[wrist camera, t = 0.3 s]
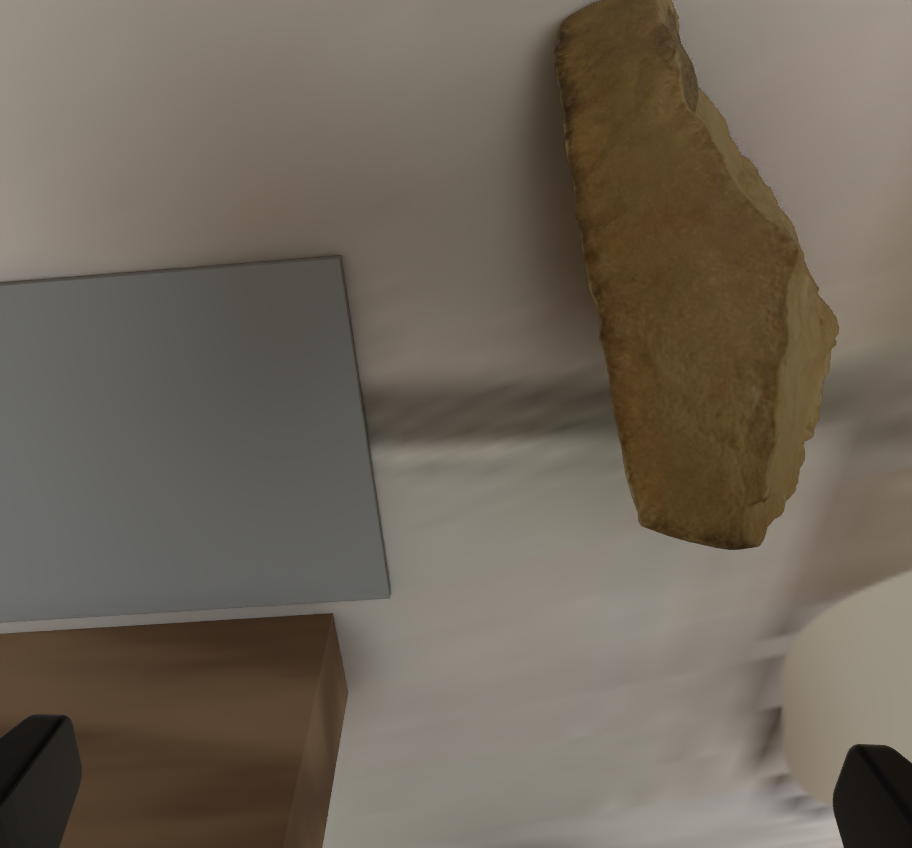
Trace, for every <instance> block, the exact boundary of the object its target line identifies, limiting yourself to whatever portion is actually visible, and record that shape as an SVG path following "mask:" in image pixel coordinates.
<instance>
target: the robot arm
mask: <svg viewBox="0 0 912 848" xmlns="http://www.w3.org/2000/svg"><path fill="white" fill-rule="evenodd" d="M81 779H82V762H81V758H80V753H79V749H78V744H77V740H76V735H75V731H74V726H73V723H72V720H71V719H70V718H69V717H68V716H66V715H59V714H33V715H31V716H28V717H27V718H25V719H24V720H22V721H21V722H20V723H18V724H17V725H16V726H14V727H13V728H12V729H10V730H9V731H8V732H6V733H5V734H4V735H2V736H1V737H0V848H59V847H60V844H61V841H62V838H63V835H64V832H65V829H66V826H67V823H68V820H69V817H70V814H71V811H72V808H73V805H74V802H75V799H76V796H77V793H78V790H79V787H80V783H81ZM833 810H834V815H835V818H836V822H837V825H838V829H839V832H840V836H841V839H842V843H843V846H844V848H912V763H911V762H910V761H908V760H907V759H906V758H905V757H903V756H902V755H901V754H900V753H899V752H897V751H896V750H894V749H893V748H891V747H889V746H885V745H868V744H857V745H854V746H853V747H851V748H850V749H849V751H848V753H847V755H846V758H845V761H844V764H843V767H842V769H841V772H840V775H839V778H838V781H837V783H836V786H835V789H834V793H833Z"/></svg>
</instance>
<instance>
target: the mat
mask: <svg viewBox="0 0 912 848" xmlns="http://www.w3.org/2000/svg"><path fill="white" fill-rule="evenodd" d="M390 594H391V591H390V584H389V578H388V571H387V564H386V557H385V551H384V544H383V537H382V530H381V524H380V517H379V510H378V503H377V497H376V490H375V483H374V476H373V470H372V463H371V456H370V449H369V443H368V436H367V429H366V423H365V416H364V409H363V402H362V396H361V389H360V382H359V375H358V369H357V362H356V355H355V348H354V342H353V335H352V328H351V321H350V315H349V308H348V301H347V294H346V288H345V281H344V274H343V267H342V261H341V256H329V257H317V258H304V259H292V260H279V261H267V262H254V263H242V264H229V265H217V266H204V267H192V268H179V269H167V270H154V271H142V272H129V273H117V274H104V275H92V276H79V277H67V278H54V279H42V280H29V281H17V282H4V283H0V623H1V622H17V621H33V620H49V619H65V618H81V617H97V616H113V615H130V614H146V613H162V612H178V611H194V610H210V609H226V608H242V607H258V606H274V605H290V604H306V603H322V602H338V601H354V600H370V599H386V598H390Z"/></svg>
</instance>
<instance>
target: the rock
mask: <svg viewBox="0 0 912 848" xmlns="http://www.w3.org/2000/svg"><path fill="white" fill-rule="evenodd" d="M678 18H679V17H678V15H677V13H676V11H675V9H674V6H673V3H672V0H602V1H600V2H597V3H594V4H591V5H589V6H587V7H585V8H584V9H582V10H580V11H578V12H576V13H574V14H572V15H571V16H569V17H568V18H567V19H566V20H565V21H563V22H562V23H561V28H560V30H559V32H558V34H557V41H558V43H559V45H558V47H557V48H556V49H555V51H554V54H555V68H556V75H557V82H558V86H559V90H560V102H561V106H562V109H563V112H564V120H563V128H564V135H565V145H566V153H567V160H568V164H569V168H570V172H571V176H572V181H573V186H574V192H575V202H574V205H575V215H576V220H577V225H578V228H579V232H580V235H581V246H582V252H583V257H584V262H585V268H586V273H587V278H588V285H589V290H590V293H591V295H592V298H593V300H594V302H595V305H596V308H597V311H598V314H599V318H600V321H601V324H600V338H599V339H600V342H601V345H602V348H603V351H604V354H605V359H606V365H607V370H608V374H609V384H610V396H611V402H612V407H613V412H614V417H615V421H616V424H617V428H618V435H619V439H620V443H621V447H622V454H623V461H624V468H625V474H626V478H627V481H628V485H629V488H630V492H631V495H632V498H633V501H634V504H635V506H636V509H637V511H638V521H639V523H640V525H641V526H643V527H645V528H648V529H651V530H654V531H656V532H659V533H662V534H665V535H667V536H671V537H674V538H678V539H681V540H685V541H688V542H693V543H697V544H702V545H706V546H710V547H715V548H721V549H728V550H738V549H746V548H753V547H758V546H760V545H761V543H762V542H763V540H764V538H765V534H766V531H767V527H768V526H769V525H770V524H771V522H772V521H773V520H774V519H775V518H777V517H779V516H781V514H782V513H783V511H784V507H785V502H786V500H788V499H789V498H790V497H791V496H792V494H793V493H794V492H795V490H796V485H797V483H798V477H799V470H800V467H801V466H802V464H803V462H804V460H805V449H804V442H805V441H807V440H809V439H811V438H812V437H813V434H814V428H815V426H816V423H817V422H818V420H819V416H820V405H821V401H822V395H823V386H822V383H823V380H824V379H825V377H826V375H827V373H828V371H829V366H830V358H831V349H832V348H833V347H834V346H836V340H835V338H836V336H837V335H838V331H839V326H838V324H837V318H836V316H835V315H834V313H833V312H832V310H831V309H830V307H829V306H828V305H827V304H826V303H825V302H824V301H823V299H822V298H821V297H820V296H819V295H818V290H819V288H818V286H817V285H816V283H815V281H814V280H813V278H812V276H811V274H810V272H809V270H808V268H807V266H806V264H805V262H804V253H803V251H802V249H801V247H800V245H799V243H798V238H797V235H796V231H795V228H794V226H793V224H792V222H791V221H790V219H789V218H788V216H787V215H786V214H785V213H784V212H783V211H782V209H781V208H780V207H779V206H778V205H777V204H778V202H777V200H776V198H775V196H774V194H773V192H772V190H771V188H769V187H768V186H766V185H765V184H764V182H763V180H762V179H761V177H760V176H759V173H758V170H757V169H756V167H755V166H754V165H753V163H752V162H751V160H750V159H747V158H745V157H743V156H741V155H740V152H739V150H738V148H737V146H736V144H735V143H734V141H733V140H732V138H731V137H730V135H729V131H728V127H727V123H726V121H725V119H724V118H723V116H722V115H721V114H720V112H719V111H718V110H717V108H716V107H715V106H714V104H713V103H712V102H711V100H710V99H709V98H708V96H707V95H706V94H705V93H704V92H703V91H702V90H701V89H700V88H699V87H698V83H697V78H696V74H695V71H694V68H693V64H692V62H691V60H690V58H689V57H688V55H687V53H686V51H685V49H684V48H683V46H682V44H681V41H680V37H679V33H678V31H679V22H678Z"/></svg>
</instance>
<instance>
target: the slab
mask: <svg viewBox="0 0 912 848" xmlns="http://www.w3.org/2000/svg"><path fill="white" fill-rule="evenodd" d="M347 695H348V690H347V685H346V680H345V675H344V669H343V664H342V659H341V654H340V648H339V643H338V638H337V633H336V628H335V622H334V617H333V613H330V614H314V615H298V616H282V617H265V618H249V619H233V620H217V621H200V622H184V623H168V624H152V625H136V626H119V627H103V628H87V629H71V630H55V631H38V632H22V633H6V634H0V737H1V736H2V735H4V734H5V733H6V732H8V731H9V730H10V729H12V728H13V727H14V726H16V725H17V724H18V723H20V722H21V721H22V720H24V719H25V718H27V717H28V716H31V715H33V714H59V715H66V716H68V717H69V718H70V719H71V720H72V723H73V726H74V731H75V735H76V740H77V744H78V749H79V753H80V758H81V762H82V779H81V783H80V787H79V790H78V793H77V796H76V799H75V802H74V805H73V808H72V811H71V814H70V817H69V820H68V823H67V826H66V829H65V832H64V835H63V838H62V841H61V844H60V847H59V848H322V846H323V840H324V834H325V828H326V822H327V816H328V810H329V804H330V798H331V792H332V786H333V780H334V773H335V767H336V761H337V755H338V749H339V743H340V737H341V731H342V725H343V719H344V713H345V707H346V701H347Z"/></svg>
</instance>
